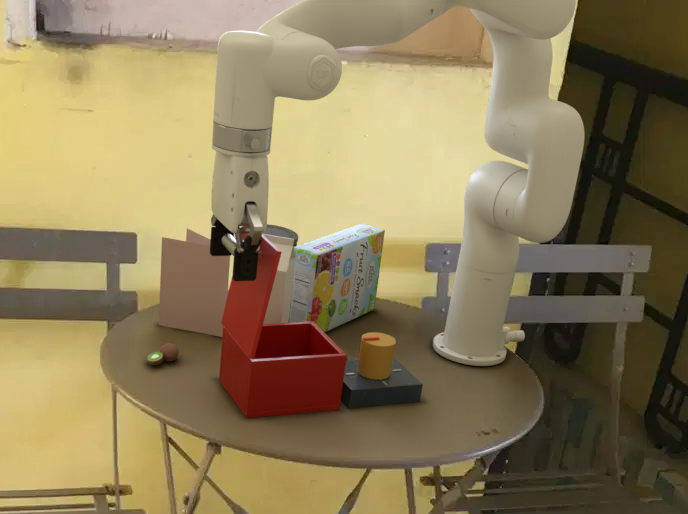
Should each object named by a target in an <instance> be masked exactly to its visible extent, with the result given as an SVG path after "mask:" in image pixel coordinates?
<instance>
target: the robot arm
mask: <svg viewBox="0 0 688 514" xmlns="http://www.w3.org/2000/svg"><path fill="white" fill-rule="evenodd" d="M576 2H577V0H301V1H299V2H297V3H295V4H293V5H291V6H290V7H288V8H286V9H284V10H283V11H281V12H280V13H278V14H276V15H275V16H273V17H272V18H270V19H268V20H267V21H266V22H264V23H263V24H262V25H261V26H259V28H258V29H257V30H256V31H250V30H230V31H225V32H224V33H223V34H222V35H221V36H220V37H219V40H218V43H217V52H216V64H215V65H216V66H215V67H216V68H215V81H214V82H215V83H214V84H215V85H214V102H213V115H212V116H213V118H212V119H213V120H212V133H211V135H212V136H211V149H212V150H214V151H215V155H214V161H213V162H214V164H213V171H212V182H211V194H210V195H211V196H210V197H211V201H210V202H211V203H210V204H211V205H210V208H211V212H212V215H211V219H210V224H211V226H210V239H211V240H210V254H211V255H212V256H230V257H231V256H233V255H232V254H231V253H230V252H229V251H228V250H227V249H226V248H225V247H224V245H223V244H222V238H223V236H224V235H226V234H231V235H232V236H233V237H234V238H235V239H236V245H237V251H234V256H233V263H232V275H233V276H231V279H232V278H233V280H234V281H254V280H256V276H257V264H258V253H259V251H260V244H261V242H262V240H261V236H262V233H264V232H265V231H266V228H267V224H268V209H269V186H270V185H269V181H270V180H269V159H268V155H270V154H271V145H272V135H273V123H274V111H275V102H276V101H275V100H276V98H279V97H280V98H287V99H293V100H299V101H318V100H320V99H323V98H325V97H327V96H328V95H330V94H331V93H332V92H333V91H334V90H335V89H336V88H337V86H338V85H339V83H340V80H341V78H342V72H343V64H342V60H341V56H340V54H339V53H338V51H337V50H339V49H346V48H353V47H377V46H384V45H390V44H394V43H398V42H400V41H404V39H406V38H408V36H410V35H412V34H414V32H416V31H418V30H419V29H421V28H422V27H424V26H426V25H427V24H429V23H430V22H432V21H433V20H435V19H437V18H438V17H440V16H442V15H443V14H445V13H446V12H449V10H451V9H453V8H457V7H461V8H465V9H469V10H470V12H471V13H472V15H473V16H474V17H475V19H477V21H479V23H480V25H482V26H483V28H484V30H485V31H486V33H487V35H488V38H489V40H490V44H491V47H492V53H493V56H492V57H493V61H492V70H491V71H492V73H491V79H490V87H489V92H488V93H489V94H488V100H487V106H486V113H485V120H484V139H485V142H486V144H487V145H488V147H489V148H491V150H493V151H495V152H496V153H497V154H500V155H503V156H505V157H507V158H510V159H512V160H514V161H515V160H516V161H518V162H521V163H524V164H526V165H528V167H527V168H526V167H524V166H523V167H522V166H520V165H517V164H514V163H512V162H508V161H505V160H490V161H489V160H488V161H486V162H484V163H482V164H480V165H478V166H477V167H476V168H475V169H474V170H473V172H472V173H471V174H470V176H469V178H468V179H467V182H466V186H465V190H464V198H463V200H464V202H463V211H464V212H463V214H464V216H463V231H462V238H461V244H460V248H459V250H460V251H459V254H458V260H457V264H456V269H455V270H456V271H455V275H454V281H453V284H452V285H453V286H452V292H451V295H450V301H449V305H448V312H447V315H446V321H445V326H444V331H443V332H440V333H438V334H436V335H435V336H434V337H433V339H432V348H433V350H434V351H435V353H437V354H438V355H440V356H441V357H443V358H445V359H447V360H449V361H452V362H455V363H458V364H463V365H465V366H466V365H468V366H473V367H474V366H475V367H489V366H496V365H498V364H501V363H503V362H504V361H505V360H506V357H507V348H506V347H505V345H508V344H509V343H518V342H524V340H525V338H526V334H525V331H524V330H522V329H521V330H512V331H511V327H510V326H504V325H505V322H506V321H505V320H506V316H507V312H508V307H509V304H510V303H509V302H510V299H511V298H510V297H511V294H512V289H513V285H514V281H515V277H516V272H517V269H518V264H519V259H520V239H523V240H525V241H528V242H531V243H536V244H544V243H547V242H550V241H552V240H553V239H555V238H556V237H557V236H558V235H559V234H560V233H561V231H562V230H563V229H564V227H565V225H566V223H567V221H568V218H569V216H570V212H571V210H572V205H573V200H574V197H575V190H576V186H577V180H578V176H579V172H580V168H581V167H580V166H581V161H582V157H583V152H584V147H585V126H584V122H583V119H582V117H581V115H580V113H579V112H578V111H577V109H576V108H574V107H573V106H571V105H570V104H568V103H565V102H562V101H560V100H556V99H553V98H551V97H550V94H549V93H550V92H549V90H550V81H551V75H552V74H551V73H552V65H553V45H552V38H554V37H556V36H558V35H559V34H561V33H562V32H563V31H564V30H565V29H566V28H567V27H568V25H570V23H571V20H572V18H573V16H574V13H575V10H576V4H577V3H576ZM243 226H250V227H246V228H241V227H243ZM242 235H249V236H247V237H246V238H245V240H244V242H243V239H242Z"/></svg>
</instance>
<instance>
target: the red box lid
mask: <svg viewBox="0 0 688 514" xmlns="http://www.w3.org/2000/svg"><path fill="white" fill-rule="evenodd" d="M246 227H250V226H244V228H246ZM247 236H249V235H242V239H243V242H244V240H245V238H246V237H247ZM261 240H262V242H261V244H260V251H259V253H258V264H257V276H256V280H254V281H234V280H233V278H232V276H233V274H232V276H231V280H230V284H229V287H228V293H227V301H226V305H225V309H224V313H223V317H222V322H221V324H222V325H223V326H224V327H225V329H226V330H227V331H228V332H229V334H230V335H231V336H232V337H233V339H234V340H235V341H236V342H237V343H238V345H239V346H240V347H241V348H242V350H243V351H244V352H245V353H246V355H247V356H248V357H249V358H250V359H254V357H255V353H256V349H257V346H258V342H259V338H260V334H261V330H262V326H263V322H264V318H265V315H266V311H267V307H268V303H269V299H270V295H271V291H272V288H273V284H274V280H275V276H276V272H277V268H278V264H279V261H280V257H281V253H282V252H281V251H280V250H279V249H278V248H277V247H276V246H275V245H274V244H273V243H272V242H270V241H269V240H268V239H267V238H266V237H265V236H264V235H263V234H262V236H261ZM222 244H223V245H224V247H225V248H226V249H227V250H228V251H229V252H230V253H231V254H232V255H231V256H233V257H234V251H237V245H236V239H235V236H234V237H233V236H232V235H231V234H226V235H224V236H223V238H222Z"/></svg>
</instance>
